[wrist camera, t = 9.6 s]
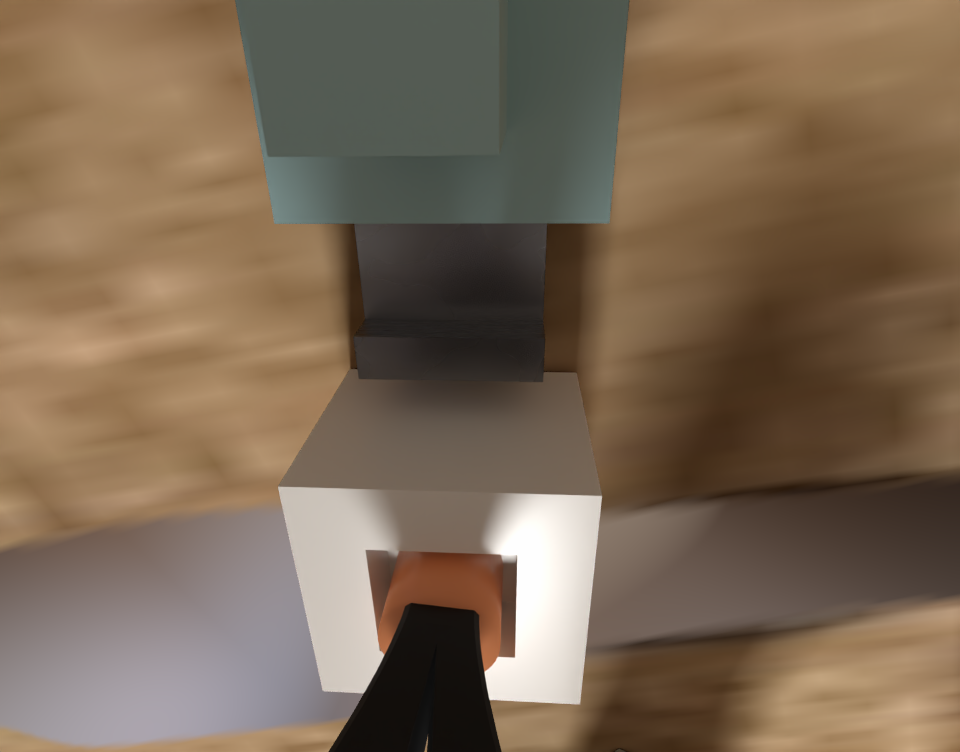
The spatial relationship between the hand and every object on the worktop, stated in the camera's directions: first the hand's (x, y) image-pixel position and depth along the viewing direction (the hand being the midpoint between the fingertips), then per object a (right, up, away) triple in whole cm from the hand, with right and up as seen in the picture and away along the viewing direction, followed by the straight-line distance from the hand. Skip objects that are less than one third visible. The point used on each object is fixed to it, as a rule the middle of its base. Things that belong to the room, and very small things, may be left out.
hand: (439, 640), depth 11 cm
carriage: (0, +11, -1) cm, 11 cm away
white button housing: (0, +3, +5) cm, 6 cm away
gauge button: (0, +1, +2) cm, 2 cm away
